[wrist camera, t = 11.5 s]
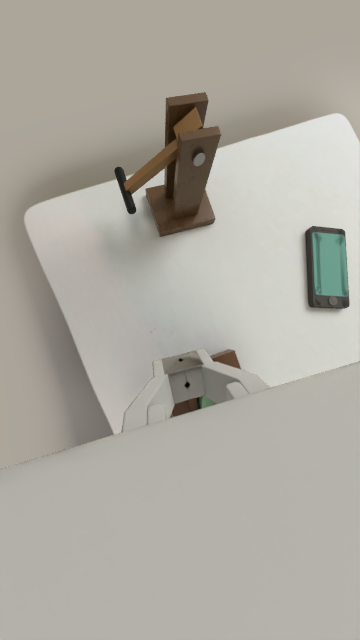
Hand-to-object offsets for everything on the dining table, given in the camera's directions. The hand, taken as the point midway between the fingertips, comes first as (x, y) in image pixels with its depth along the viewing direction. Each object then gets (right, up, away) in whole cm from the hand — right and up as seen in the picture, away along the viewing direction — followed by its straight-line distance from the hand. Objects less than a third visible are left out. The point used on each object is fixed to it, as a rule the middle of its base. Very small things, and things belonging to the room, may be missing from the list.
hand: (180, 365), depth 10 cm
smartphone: (+27, +12, +22) cm, 37 cm away
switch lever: (-2, +22, +12) cm, 25 cm away
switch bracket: (0, +22, +20) cm, 30 cm away
